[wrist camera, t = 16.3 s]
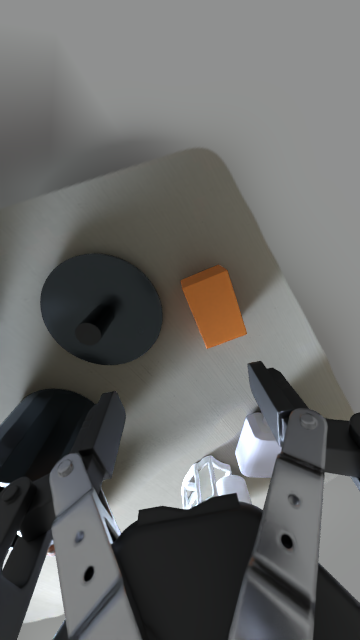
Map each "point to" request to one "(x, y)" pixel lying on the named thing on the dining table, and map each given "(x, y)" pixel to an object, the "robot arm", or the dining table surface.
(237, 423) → the dining table surface
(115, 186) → the dining table surface
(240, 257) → the dining table surface
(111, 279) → the bin lid
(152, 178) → the dining table surface
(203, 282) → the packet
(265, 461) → the charger
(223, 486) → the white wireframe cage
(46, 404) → the trash can
